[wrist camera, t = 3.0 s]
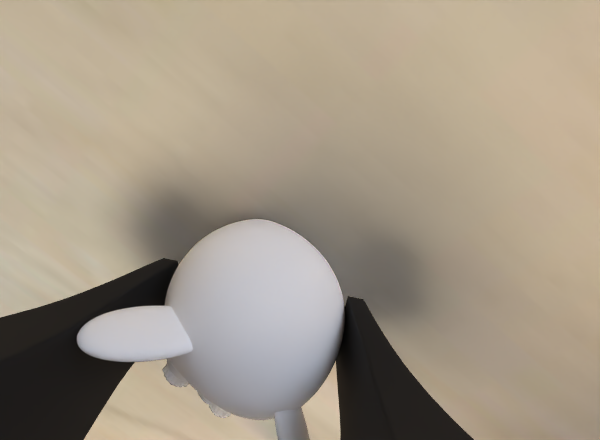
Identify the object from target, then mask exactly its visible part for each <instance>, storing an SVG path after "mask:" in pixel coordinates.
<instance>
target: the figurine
mask: <svg viewBox="0 0 600 440" xmlns="http://www.w3.org/2000/svg"><path fill="white" fill-rule="evenodd" d="M344 326H345V306H344V300H343V295H342V292H341V288H340V285H339V283H338V280H337V278H336V276H335V274H334V272H333V270H332V268H331V267H330V265H329V264H328V262H327V261H326V259H325V258H324V257H323V255H322V254H321V253H320V252H319V251H318V250H317V249H316V248H315V247H314V246H313V245H312V244H311V243H310V242H309V241H307V240H306V239H305V238H303V237H302V236H301V235H299V234H298V233H296V232H294V231H293V230H291V229H289V228H287V227H285V226H282V225H280V224H278V223H275V222H272V221H269V220H263V219H250V220H243V221H239V222H235V223H232V224H229V225H226V226H223V227H221V228H219V229H217V230H215V231H213V232H211V233H210V234H208V235H207V236H205V237H204V238H203V239H201V240H200V241H199V242H198V243H197V244H196V245H195V246H194V247H193V248H191V250H190V251H189V252H188V253H187V254H186V256H185V257H184V258H183V259H182V261H181V262H180V264H179V266H178V267H177V269H176V271H175V273H174V275H173V277H172V279H171V282H170V284H169V287H168V290H167V294H166V299H165V305H164V306H140V307H131V308H125V309H120V310H115V311H111V312H108V313H105V314H102V315H100V316H98V317H95V318H94V319H92V320H90V321H89V322H87V323H86V324H85V325H84V326H83V327H82V328H81V329H80V331H79V332H78V335H77V343H78V346H79V347H80V349H81V350H82V351H84V352H85V353H86V354H88V355H90V356H93V357H95V358H99V359H103V360H109V361H119V362H144V361H154V360H161V359H167V365H166V366H165V367H164V368H163V372H164V373H165V374H164V376H165V377H166V380H167V381H169V383H170V384H171V385H174V386H176V387H178V386H179V387H182V386H184V387H186V386H187V385H188V384H190V385H191V386H192V387H193V388H194V389H196V390H197V392H198V394H199V396H200V397H201V398H202V400H203V401H204V402H205V403H207V404H209V408H210V409H211V411H212V412H213V413H214V414H215V415H216V416H219V417H221V418H222V417H223V418H226V417H229V416H230V415H231V413H232V414H234V415H236V416H239V417H243V418H247V419H252V420H267V419H274V418H275V425H276V431H277V436H278V440H310V439H309V434H308V430H307V426H306V422H305V418H304V415H303V411H302V408H301V406H303V405H304V404H305V403H306V402H307V401H308V400H309V399H310V398H311V397H312V396H313V395H314V394H315V393H316V392H317V391H318V389H319V388H320V387H321V385H322V384H323V383H324V381H325V380H326V378H327V376H328V375H329V373H330V371H331V369H332V367H333V365H334V363H335V360H336V358H337V355H338V352H339V349H340V346H341V343H342V338H343V333H344Z"/></svg>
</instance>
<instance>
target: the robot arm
mask: <svg viewBox="0 0 600 440" xmlns="http://www.w3.org/2000/svg"><path fill="white" fill-rule="evenodd" d="M177 267H178V261H175V260H170V259H165V258H163V259H161V260H158V261H156V262H153V263H151V264H149V265H146V266H144V267H142V268H140V269H137V270H135V271H133V272H131V273H128V274H126V275H124V276H122V277H119V278H117V279H115V280H112V281H110V282H108V283H105V284H103V285H100V286H98V287H95V288H93V289H90V290H88V291H85V292H83V293H80V294H77V295H74V296H72V297H69V298H66V299H63V300H60V301H57V302H54V303H51V304H48V305H44V306H41V307H38V308H34V309H31V310H27V311H23V312H20V313H16V314H12V315H9V316H5V317H1V318H0V440H84V438H85V436H86V435H87V433H88V432H89V430H90V428H91V427H92V425H93V423H94V422H95V420H96V418H97V417H98V415H99V414H100V412H101V410H102V409H103V407H104V406H105V404H106V403H107V401H108V399H109V398H110V396H111V395H112V393H113V392H114V390H115V389H116V387H117V385H118V384H119V382H120V381H121V380H122V378H123V377H124V376H125V374H126V373H127V371H128V370H129V369H130V368H131V366H132V365H133V364H134V362H119V361H109V360H103V359H99V358H95V357H93V356H90V355H88V354H86V353H85V352H84V351H82V350H81V349H80V347H79V346H78V343H77V335H78V332H79V331H80V329H81V328H82V327H83V326H84V325H85V324H86V323H87V322H89V321H90V320H92V319H94V318H95V317H98V316H100V315H102V314H105V313H108V312H111V311H115V310H120V309H125V308H131V307H140V306H164V305H165V299H166V294H167V290H168V287H169V284H170V282H171V279H172V277H173V275H174V273H175V271H176V269H177ZM336 368H337V382H338V396H339V409H340V428H341V440H474V439H473V438H472V437H470V436H469V435H468V434H467V433H466V432H465V431H464V430H463V429H462V428H461V427H460V426H459V425H458V424H457V423H456V422H455V421H454V420H453V419H452V418H451V417H450V416H449V415H448V414H447V413H446V412H445V411H444V410H443V409H442V408H441V407H440V406H439V404H438V403H437V402H436V401H435V400H434V399H433V398H432V397H431V396H430V395H429V394H428V392H427V391H426V390H425V389H424V388H423V387H422V385H421V384H420V383H419V382H418V381H417V379H416V378H415V377H414V376H413V375H412V373H411V372H410V371H409V370H408V368H407V367H406V366H405V364H404V363H403V362H402V360H401V359H400V358H399V356H398V355H397V353H396V352H395V351H394V349H393V348H392V346H391V345H390V343H389V342H388V340H387V338H386V337H385V335H384V334H383V332H382V331H381V329H380V327H379V326H378V324H377V322H376V321H375V319H374V317H373V316H372V314H371V312H370V310H369V309H368V307H367V305H366V303H365V302H364V300H363V299H359V298H355V297H350V296H348V298H347V301H346V305H345V326H344V333H343V338H342V343H341V346H340V349H339V352H338V355H337V358H336Z"/></svg>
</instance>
